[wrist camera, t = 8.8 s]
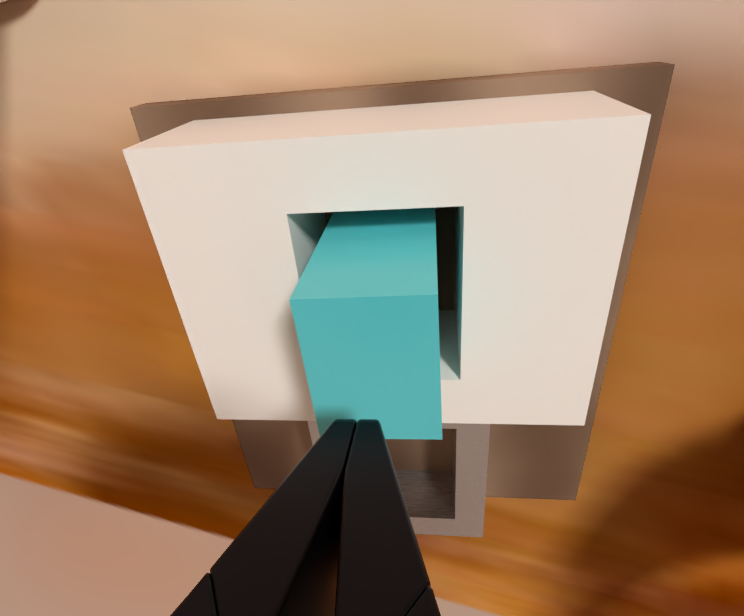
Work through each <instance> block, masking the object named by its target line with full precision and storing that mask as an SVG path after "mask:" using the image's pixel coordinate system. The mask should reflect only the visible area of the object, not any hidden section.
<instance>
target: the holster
mask: <svg viewBox="0 0 744 616" xmlns="http://www.w3.org/2000/svg"><path fill="white" fill-rule="evenodd" d="M308 426H309V431H310V435H311V440H312V445H314V444H315V442H316V441H317V440H318V439H319V438H320V435H319V430H318V426H317V421H308ZM442 429H453V471H431V470H399V469H395V472H396V475H397V478H398V482H399V485H400V488H401V491H402V494H403V498H404V501H405V504H406V507H407V510H408V514H409V517H410V520H411V523H412V526H413V530H414V533H415V534H427V535H448V536H468V537H483V524H484V509H485V495H486V480H487V466H488V451H489V436H490V424H467V423H442Z"/></svg>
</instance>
